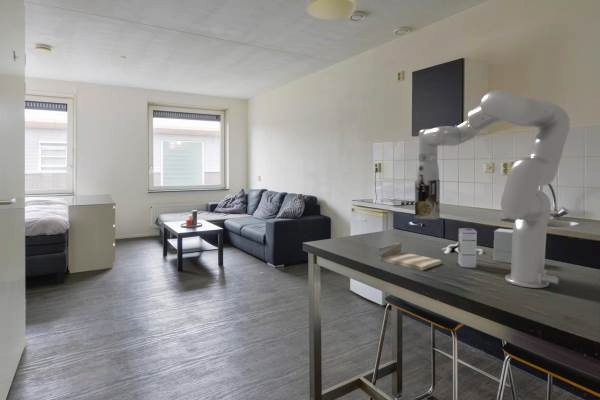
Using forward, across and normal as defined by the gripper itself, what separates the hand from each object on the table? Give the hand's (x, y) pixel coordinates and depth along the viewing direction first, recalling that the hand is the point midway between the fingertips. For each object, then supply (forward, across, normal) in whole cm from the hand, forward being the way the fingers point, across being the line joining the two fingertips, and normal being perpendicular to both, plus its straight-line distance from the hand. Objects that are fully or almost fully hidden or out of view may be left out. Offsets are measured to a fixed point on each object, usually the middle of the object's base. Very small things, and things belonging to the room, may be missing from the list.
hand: (427, 200), depth 157 cm
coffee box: (+8, 0, 0) cm, 8 cm away
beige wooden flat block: (+25, -12, +1) cm, 27 cm away
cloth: (+25, +20, -4) cm, 33 cm away
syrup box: (+25, 0, -17) cm, 30 cm away
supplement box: (+25, +19, -24) cm, 40 cm away
